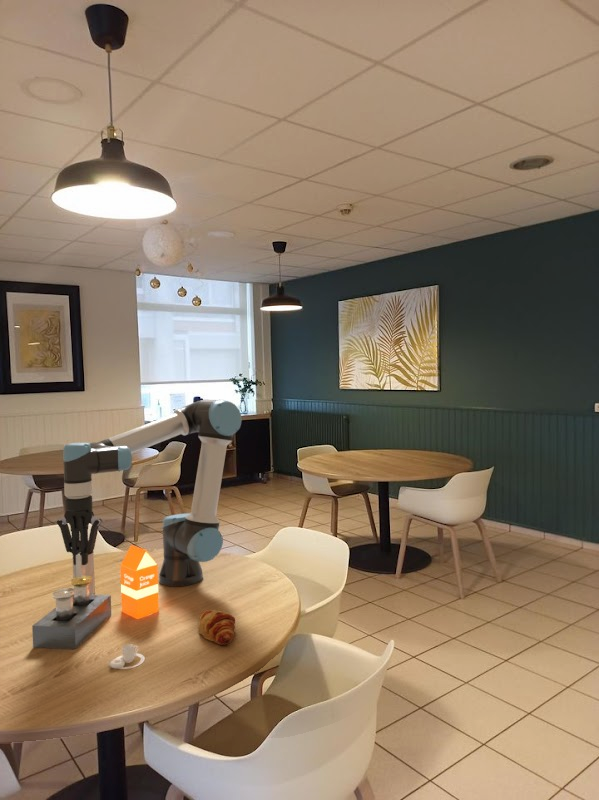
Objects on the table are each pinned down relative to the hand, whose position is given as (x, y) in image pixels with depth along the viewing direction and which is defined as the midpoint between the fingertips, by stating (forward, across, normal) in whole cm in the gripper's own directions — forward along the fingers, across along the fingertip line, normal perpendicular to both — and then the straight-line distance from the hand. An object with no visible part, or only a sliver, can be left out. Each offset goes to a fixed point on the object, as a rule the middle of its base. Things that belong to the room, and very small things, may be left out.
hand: (81, 575), depth 168 cm
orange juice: (+14, -14, -9) cm, 22 cm away
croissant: (+15, -42, +4) cm, 44 cm away
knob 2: (+9, 0, 0) cm, 9 cm away
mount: (+14, 0, +5) cm, 15 cm away
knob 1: (+9, 0, +10) cm, 14 cm away
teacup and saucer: (+15, -20, +21) cm, 32 cm away
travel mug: (+14, +6, -13) cm, 20 cm away
